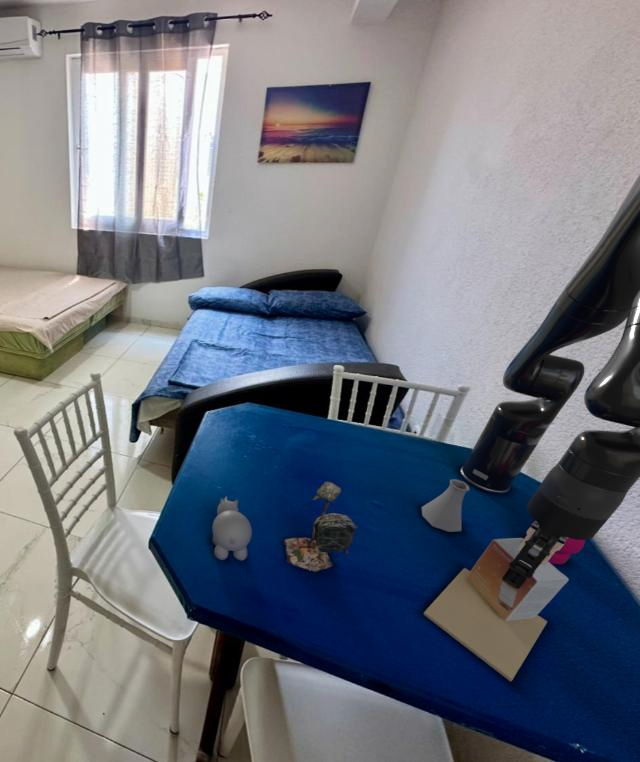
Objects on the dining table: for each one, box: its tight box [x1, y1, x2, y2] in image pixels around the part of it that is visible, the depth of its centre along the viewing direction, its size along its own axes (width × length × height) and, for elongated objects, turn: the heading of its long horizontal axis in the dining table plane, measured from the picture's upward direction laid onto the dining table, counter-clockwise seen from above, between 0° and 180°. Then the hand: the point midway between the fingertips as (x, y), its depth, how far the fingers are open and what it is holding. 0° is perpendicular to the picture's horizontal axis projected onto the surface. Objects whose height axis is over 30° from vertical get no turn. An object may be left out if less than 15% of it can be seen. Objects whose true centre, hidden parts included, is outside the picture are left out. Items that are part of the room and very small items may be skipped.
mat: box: [423, 567, 548, 682], centre depth 68 cm, size 16×12×1 cm
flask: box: [421, 478, 470, 533], centre depth 85 cm, size 7×7×10 cm
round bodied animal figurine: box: [211, 495, 253, 561], centre depth 79 cm, size 7×12×8 cm, turn 174°
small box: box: [466, 537, 569, 621], centre depth 67 cm, size 8×6×10 cm
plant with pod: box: [283, 481, 358, 573], centre depth 73 cm, size 8×11×20 cm
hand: (519, 571), depth 67 cm, fingers closed on small box, 7 cm apart
